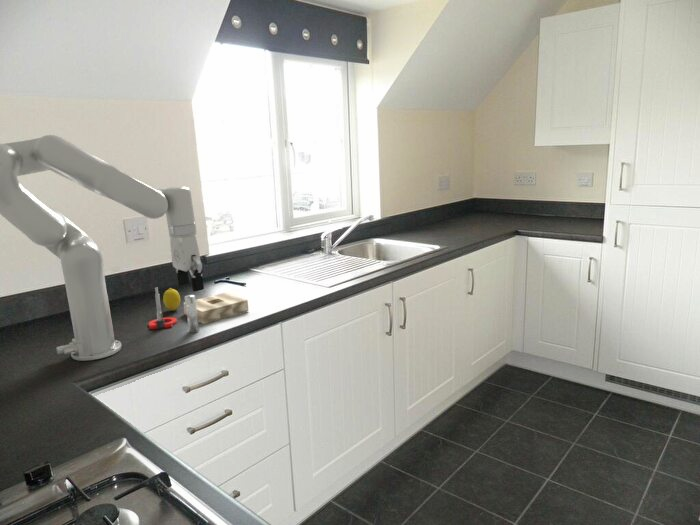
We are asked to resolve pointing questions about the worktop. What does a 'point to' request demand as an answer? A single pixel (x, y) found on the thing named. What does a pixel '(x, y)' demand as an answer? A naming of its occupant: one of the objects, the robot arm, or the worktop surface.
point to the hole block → (219, 307)
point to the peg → (191, 313)
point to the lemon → (171, 299)
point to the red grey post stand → (160, 316)
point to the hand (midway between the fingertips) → (191, 287)
